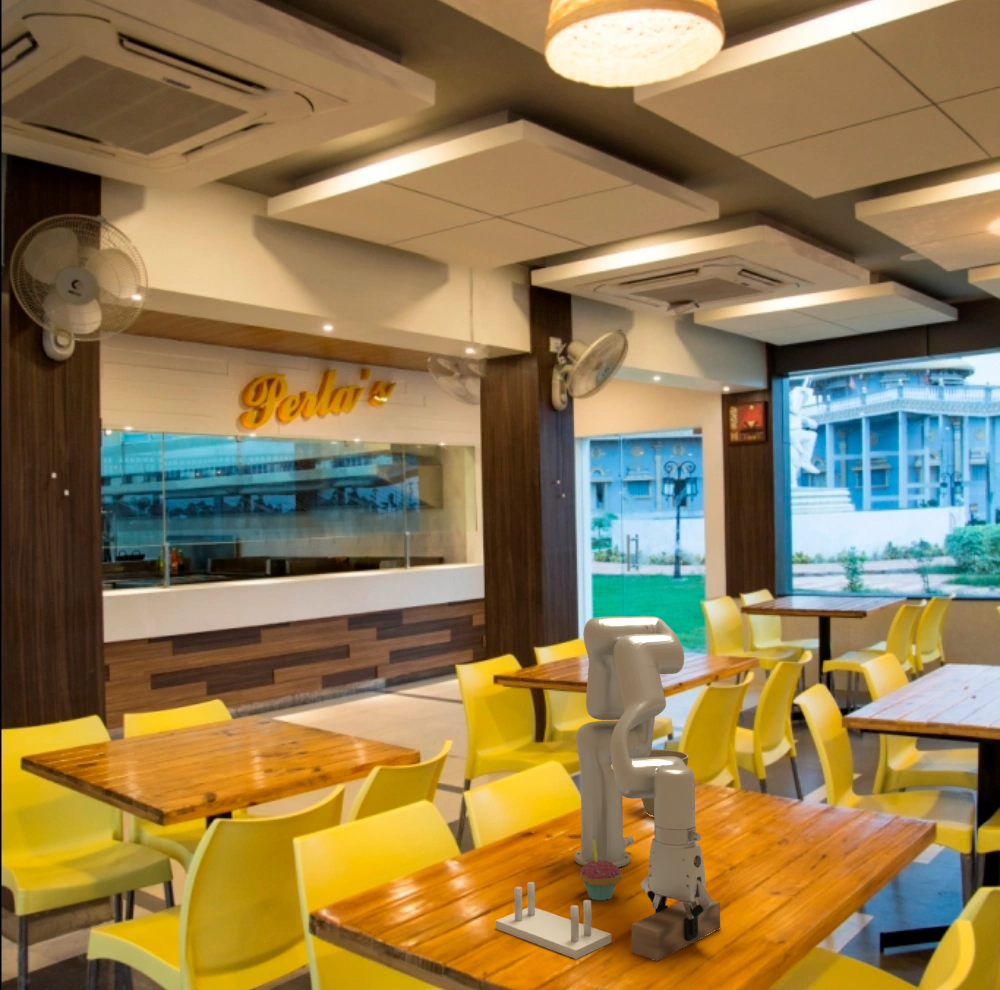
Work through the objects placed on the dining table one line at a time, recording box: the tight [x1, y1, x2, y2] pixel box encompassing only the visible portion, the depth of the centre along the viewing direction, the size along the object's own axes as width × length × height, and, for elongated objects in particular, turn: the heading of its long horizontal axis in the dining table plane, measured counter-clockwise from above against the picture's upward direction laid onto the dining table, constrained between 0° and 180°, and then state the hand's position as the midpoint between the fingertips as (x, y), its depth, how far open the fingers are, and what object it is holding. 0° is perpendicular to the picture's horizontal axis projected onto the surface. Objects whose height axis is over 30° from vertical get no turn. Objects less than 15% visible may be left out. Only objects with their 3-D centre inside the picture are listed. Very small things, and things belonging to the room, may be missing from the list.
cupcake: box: [579, 836, 623, 901], centre depth 206 cm, size 9×8×12 cm
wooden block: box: [631, 897, 721, 962], centre depth 183 cm, size 20×6×5 cm, turn 135°
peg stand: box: [495, 881, 612, 960], centre depth 186 cm, size 20×10×8 cm, turn 46°
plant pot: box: [640, 749, 689, 816], centre depth 266 cm, size 15×15×16 cm
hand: (676, 933), depth 183 cm, fingers closed on wooden block, 5 cm apart
